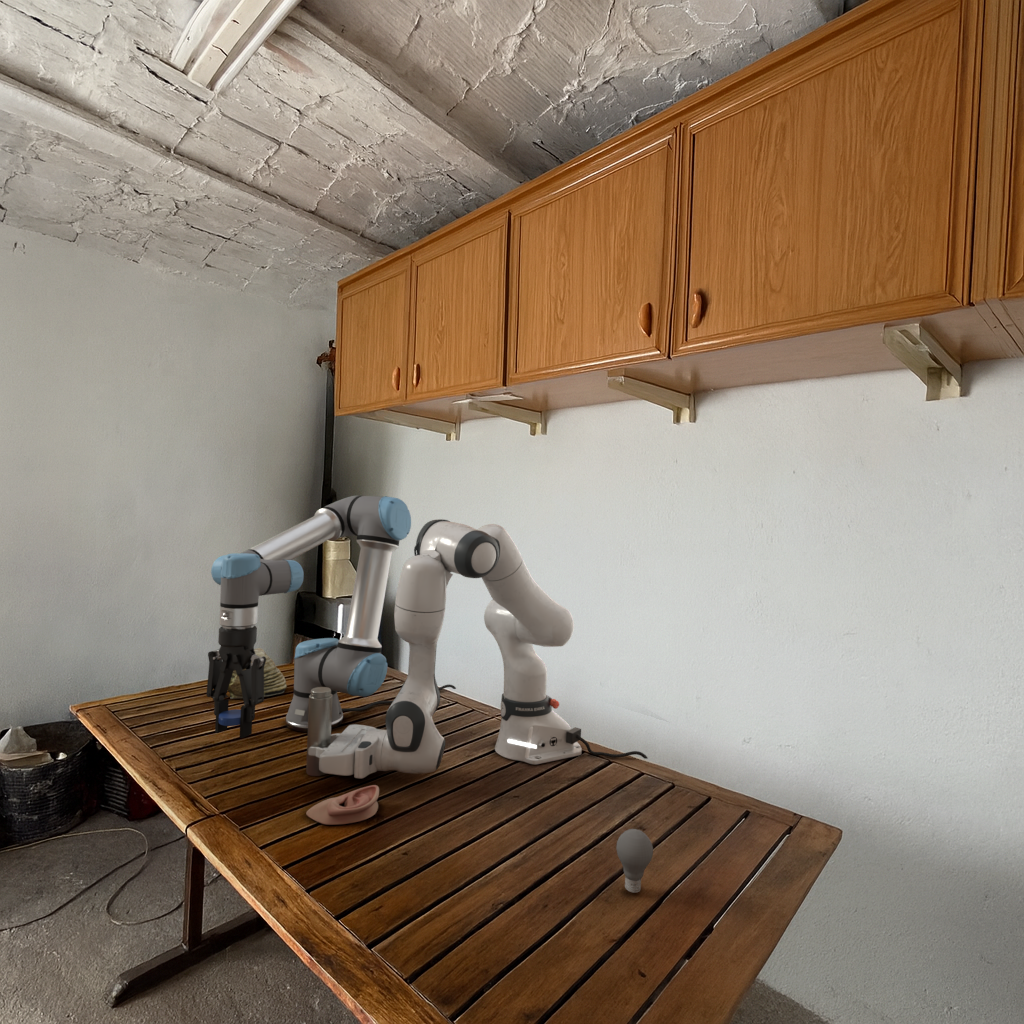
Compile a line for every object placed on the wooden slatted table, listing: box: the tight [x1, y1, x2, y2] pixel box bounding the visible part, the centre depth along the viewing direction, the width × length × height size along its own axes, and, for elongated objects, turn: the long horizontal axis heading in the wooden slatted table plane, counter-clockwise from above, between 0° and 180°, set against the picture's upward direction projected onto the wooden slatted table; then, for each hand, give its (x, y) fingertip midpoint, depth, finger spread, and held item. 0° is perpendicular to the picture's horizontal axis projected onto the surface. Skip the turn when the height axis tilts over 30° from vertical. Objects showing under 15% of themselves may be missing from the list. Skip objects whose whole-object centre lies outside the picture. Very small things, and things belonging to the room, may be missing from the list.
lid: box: [218, 708, 241, 727], centre depth 136 cm, size 6×6×2 cm
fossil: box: [227, 647, 288, 699], centre depth 198 cm, size 9×18×15 cm, turn 132°
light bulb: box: [615, 828, 654, 894], centre depth 106 cm, size 6×6×10 cm
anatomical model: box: [305, 784, 380, 826], centre depth 128 cm, size 13×4×12 cm
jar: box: [305, 687, 333, 777], centre depth 146 cm, size 5×5×19 cm
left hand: (233, 733), depth 136 cm, fingers closed on lid, 6 cm apart
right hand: (315, 744), depth 146 cm, fingers closed on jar, 5 cm apart
